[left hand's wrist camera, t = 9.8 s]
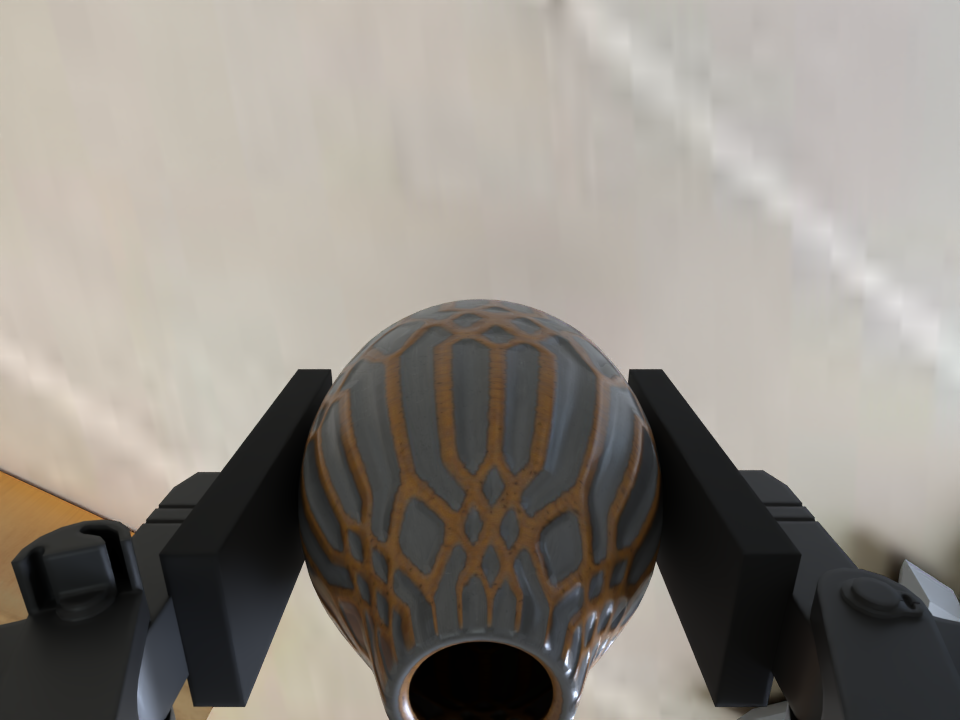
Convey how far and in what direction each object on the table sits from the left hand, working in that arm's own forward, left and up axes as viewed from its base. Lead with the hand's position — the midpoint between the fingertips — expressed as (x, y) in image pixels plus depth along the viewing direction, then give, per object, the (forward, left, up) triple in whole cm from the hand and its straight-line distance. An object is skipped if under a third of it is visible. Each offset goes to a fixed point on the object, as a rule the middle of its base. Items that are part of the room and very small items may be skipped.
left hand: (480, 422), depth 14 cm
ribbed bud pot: (0, 0, -1) cm, 1 cm away
